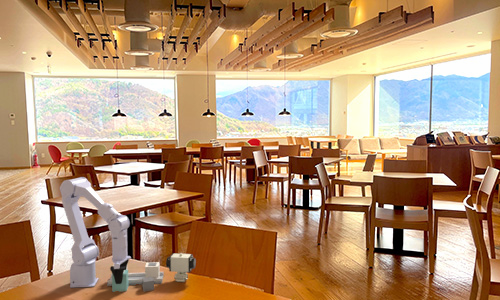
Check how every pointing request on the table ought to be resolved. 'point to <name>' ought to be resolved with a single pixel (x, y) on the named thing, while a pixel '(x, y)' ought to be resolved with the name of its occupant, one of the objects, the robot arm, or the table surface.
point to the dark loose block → (148, 284)
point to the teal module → (123, 285)
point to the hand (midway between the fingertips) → (120, 279)
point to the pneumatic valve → (181, 265)
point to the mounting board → (144, 274)
